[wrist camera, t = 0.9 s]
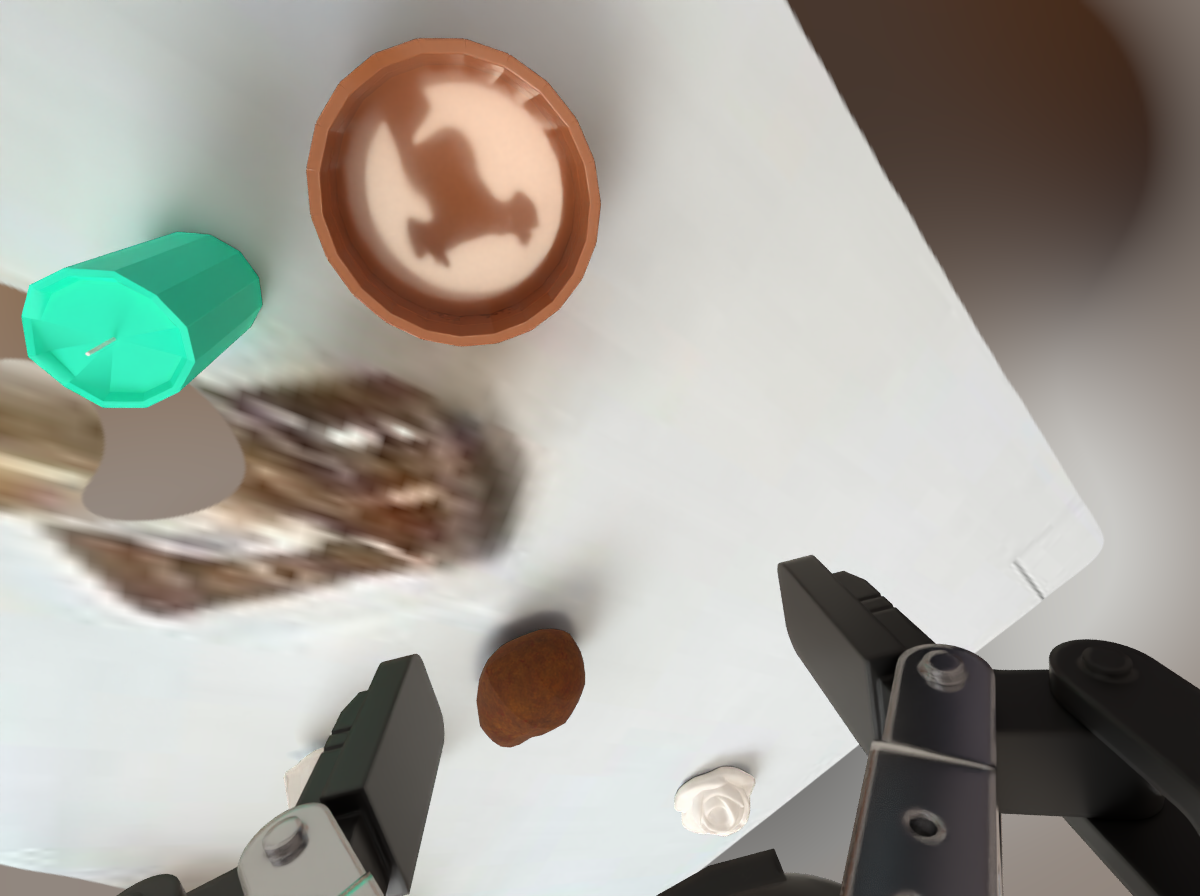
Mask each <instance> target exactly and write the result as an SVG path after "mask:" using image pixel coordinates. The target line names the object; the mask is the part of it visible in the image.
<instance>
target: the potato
mask: <svg viewBox="0 0 1200 896" xmlns="http://www.w3.org/2000/svg"><path fill="white" fill-rule="evenodd" d="M584 685H585V670H584V662H583V658H582V655H581V651H580V650H579V648H578V646H577V644H576V642H575V641H574V639H573V638H572V637H571V635H570V634H569V633H567V632H565V631H562V630H558V629H540V630H537V631H534V632H531V633H528V634H526V635H523V636H521V637H518V638H516V639H514V640H511V641H509V642H507V643H506V644H504V645H502V646H501V647H500V648H499V649H498V650H497V651H496V652H495V653H493V655H492V656H491V657H490V658H489V659H488V661H487V662H486V664H485V666H484V668H483V670H482V673H481V676H480V679H479V685H478V693H477V708H478V715H479V722H480V726H481V728H482V729H483V731H484V732H485V733H486V734H487V736H488V737H489V738H490V739H491V740H492V741H493V742H495V743H496V744H498V745H500V746H502V747H513V746H516V745H519V744H521V743H523V742H524V741H526V740H528V739H529V738H531V737H535V736H540V735H543V734H545V733H547V732H549V731H551V730H553V729H555V728H557V727H559V726H561V725H562V724H564V723H565V722H566V721H567V720H568V718H569V717H570V715H571V714H572V712H573V710H574V708H575V707H576V705H577V703H578V701H579V699H580V696H581V694H582V691H583V688H584Z"/></svg>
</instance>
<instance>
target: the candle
mask: <svg viewBox="0 0 1200 896" xmlns="http://www.w3.org/2000/svg"><path fill="white" fill-rule="evenodd" d="M261 307H262V297H261V289H260V281H259V277H258V276H257V274H256V273H255V271H254V270H253V269H252V267H251V266H250V265H249V263H248V262H247V260H246V259H245V258H244V256H243V255H242V254H241V252H240V251H238V250H236V249H235V248H233V247H231V246H229V245H228V244H226V243H224V242H222V241H221V240H219V239H217V238H215V237H214V236H212V235H209V234H198V233H187V232H175V233H172V234H169V235H166V236H162V237H159V238H156V239H153V240H150V241H147V242H144V243H141V244H137V245H134V246H131V247H128V248H125V249H122V250H119V251H116V252H112V253H109V254H106V255H103V256H100V257H97V258H94V259H91V260H88V261H84V262H81V263H78V264H75V265H72V266H69V267H66V268H63V269H61V270H59V271H57V272H55V273H53V274H51V275H49V276H47V277H45V278H43V279H41V280H39V281H37V282H35V283H33V284H31V285H29V289H28V293H27V297H26V301H25V304H24V308H23V312H22V316H21V317H22V323H23V329H24V335H25V340H26V347H27V353H28V357H29V358H30V359H31V360H33V361H34V362H35V363H36V364H37V365H39V366H40V367H41V368H42V369H44V370H45V371H46V372H47V373H48V374H50V375H51V376H52V377H53V378H55V379H56V380H57V381H58V382H59V383H61V384H62V385H63V386H64V387H66V388H68V389H70V390H72V391H73V392H75V393H77V394H79V395H81V396H83V397H84V398H86V399H88V400H90V401H92V402H94V403H95V404H97V405H99V406H101V407H103V408H147V407H149V406H151V405H153V404H155V403H157V402H159V401H161V400H163V399H165V398H167V397H169V396H171V395H173V394H176V393H178V392H179V391H181V390H182V389H183V388H184V387H185V386H186V385H187V384H188V383H189V382H191V381H192V380H193V379H194V378H195V377H196V376H197V375H198V374H199V373H200V372H202V371H203V370H204V369H205V368H206V367H207V366H208V365H209V364H210V363H211V362H213V361H214V360H215V359H216V358H217V357H218V356H219V355H220V354H221V353H222V352H224V351H225V350H226V349H227V348H228V347H229V346H230V345H231V344H232V343H233V342H235V341H236V340H237V339H238V338H239V337H240V336H241V335H242V334H243V333H245V332H246V331H247V330H248V329H249V328H250V327H251V325H252V324H253V322H254V320H255V318H256V316H257V314H258V312H259V311H260V309H261Z"/></svg>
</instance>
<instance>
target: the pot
mask: <svg viewBox="0 0 1200 896" xmlns="http://www.w3.org/2000/svg"><path fill="white" fill-rule="evenodd" d="M316 123H317V124H315V128H314V133H313V138H312V143H311V147H310V152H309V157H308V162H307V167H306V168H307V170H306V173H307V184H308V195H309V206H310V214H311V218H312V221H313V224H314V226H315V229H316V231H317V234H318V237H319V239H320V242H321V245H322V247H323V250H324V252H325V255H326V257H327V258H328V261H329V262H330V264H331V265H332V266H333V268H334V269H335V271H336V272H337V273H338V275H339V276H340V278H341V279H342V280H343V282H344V283H345V285H346V286H347V287H348V289H349V290H350V292H351V293H352V294H354V296H355V297H356V298H357V299H359V300H360V301H361V302H362V303H363V304H364V305H366V306H367V307H368V308H369V309H370V310H372V311H373V312H374V313H375V314H376V315H378V316H379V317H380V318H381V319H382V320H384V321H385V322H386V323H388V324H390V325H392V326H395V327H397V328H399V329H401V330H403V331H405V332H407V333H409V334H411V335H414V336H416V337H418V338H420V339H423V340H428V341H433V342H438V343H444V344H449V345H455V346H472V345H484V344H496V343H500V342H502V341H505V340H507V339H510V338H513V337H515V336H518V335H521V334H523V333H526V332H529V331H530V330H532V329H534V328H535V327H536V326H538V325H539V324H540V323H542V322H543V321H544V320H546V319H547V318H548V317H550V316H551V315H552V314H554V313H555V312H556V311H558V310H559V308H561V307H562V305H563V304H564V303H565V301H566V300H567V299H568V297H569V296H570V295H571V293H572V292H573V291H574V289H575V288H576V287H577V285H578V284H579V283H580V282H581V280H582V278H583V276H584V273H585V271H586V268H587V266H588V263H589V261H590V258H591V256H592V253H593V251H594V248H595V246H596V242H597V234H598V225H599V216H600V207H601V203H600V202H601V200H600V194H599V187H598V180H597V173H596V167H595V161H594V158H593V155H592V153H591V151H590V148H589V146H588V144H587V141H586V139H585V137H584V134H583V132H582V130H581V127H580V125H579V123H578V120H577V119H576V117H575V116H574V115H573V113H572V112H571V111H570V109H569V108H568V107H567V106H566V104H565V103H564V102H563V100H562V99H561V98H560V97H559V95H558V94H557V93H556V92H555V90H554V89H553V88H552V86H551V85H550V84H549V83H547V81H546V80H545V79H543V78H542V77H540V76H539V75H538V74H536V73H535V72H534V71H532V70H531V69H529V68H528V67H527V66H525V65H524V64H523V63H521V62H520V61H519V60H517V59H516V58H514V57H513V56H512V55H509V54H508V53H505V52H503V51H500V50H497V49H494V48H491V47H488V46H485V45H482V44H479V43H477V42H474V41H471V40H468V39H465V40H464V39H463V38H418V39H417V38H416V39H413V40H410V41H408V42H405V43H402V44H399V45H396V46H393V47H391V48H388V49H385V50H382V51H379V52H376V53H375V54H373V55H372V56H370V57H369V58H368V59H367V60H366V61H364V62H363V63H362V64H361V65H360V66H358V67H357V68H356V69H355V70H354V71H352V72H351V73H350V74H349V75H348V76H346V77H345V78H344V79H343V80H342V81H340V84H338V85H337V87H336V89H335V90H334V92H333V94H332V96H331V97H330V99H329V101H328V102H327V104H326V106H325V108H324V109H323V111H322V113H321V114H320V116H319V118H318V120H317V121H316Z"/></svg>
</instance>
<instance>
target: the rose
mask: <svg viewBox="0 0 1200 896" xmlns="http://www.w3.org/2000/svg"><path fill="white" fill-rule="evenodd" d="M754 786H755V779H754V777H753V776H751V775H750V774H748V773H746V772H744V771H742V770H740V769H739V768H735V767H720V768H718V769H715V770H713V771H711V772H709V773H706V774H703V775H700V776H697V777H694V778H693V779H691V780H690V781H688V782H686V783H685V784H684V785H683V786H681V787H680V789H679V790H678V792H677V794H676V795H675V797H674V808H675V810H677V811H679V812H681V815H682V825H683V826H684V827H685V828H686V829H688V830H690V831H692V832H694V833H698V834H707V833H708V834H716V835H718V836H723V837H725V836H729V835H731V834H733V833H735V832H737V831H739V830H740V829H741V828H742V827H743V826H744V825H745V824H746V822H747V821H748V818H749V813H750V795H751V793H752V790H753V788H754Z"/></svg>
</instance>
